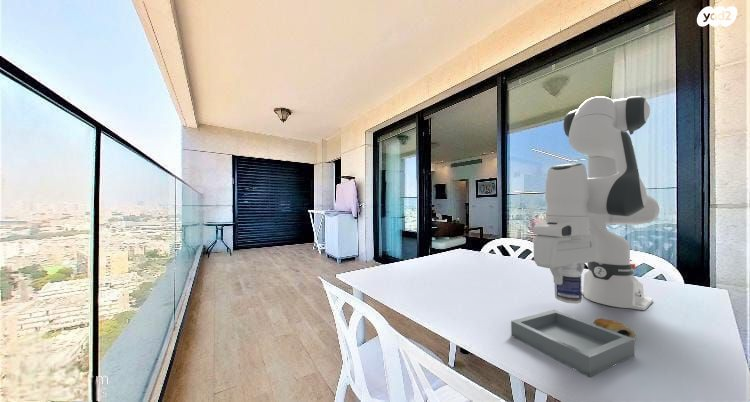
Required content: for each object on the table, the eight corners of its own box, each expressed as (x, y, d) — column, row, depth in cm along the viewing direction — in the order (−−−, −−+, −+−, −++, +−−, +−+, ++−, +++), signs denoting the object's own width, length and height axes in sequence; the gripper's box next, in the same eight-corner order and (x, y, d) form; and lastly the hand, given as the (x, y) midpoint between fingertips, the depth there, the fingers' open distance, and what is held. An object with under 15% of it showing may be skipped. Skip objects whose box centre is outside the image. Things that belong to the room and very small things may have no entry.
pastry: (586, 324, 75) (586, 311, 75) (612, 326, 74) (612, 313, 74) (610, 341, 66) (610, 326, 66) (640, 343, 65) (640, 328, 65)
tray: (553, 323, 76) (553, 309, 76) (634, 356, 59) (634, 338, 59) (511, 335, 69) (511, 320, 69) (589, 377, 52) (589, 357, 52)
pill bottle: (586, 305, 61) (585, 263, 61) (561, 303, 62) (560, 263, 62) (574, 297, 66) (573, 259, 66) (551, 295, 67) (550, 258, 67)
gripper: (577, 225, 71) (578, 274, 71) (528, 227, 63) (528, 283, 63) (604, 226, 66) (605, 280, 65) (554, 229, 57) (555, 291, 57)
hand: (567, 282), depth 64 cm, fingers closed on pill bottle, 5 cm apart
